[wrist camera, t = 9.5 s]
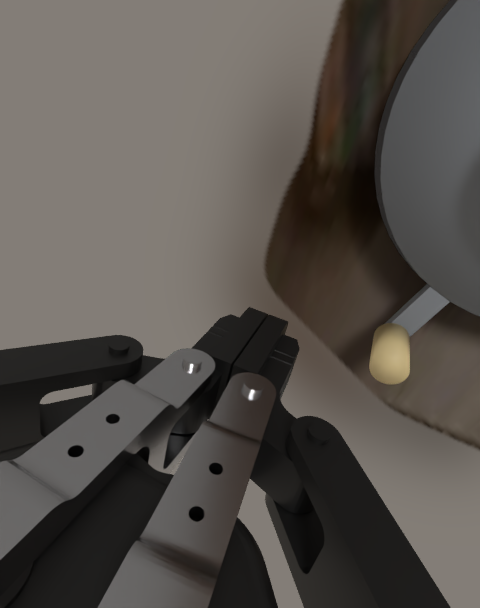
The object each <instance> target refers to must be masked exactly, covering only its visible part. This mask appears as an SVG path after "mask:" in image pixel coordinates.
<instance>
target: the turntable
mask: <svg viewBox="0 0 480 608" xmlns="http://www.w3.org/2000/svg"><path fill="white" fill-rule="evenodd" d="M381 189H382V199H383V204H384V209H385V213H386V217H387V221H388V224H389V226H390V229H391V231H392V234H393V236H394V239H395V241H396V243H397V245H398V246H399V248H400V250H401V252H402V253H403V255H404V257H405V258H406V260H407V261H408V262H409V264H410V265H411V266H412V267H413V269H414V270H415V271H416V272H417V274H418V275H419V276H420V277H421V278H422V279H423V280H424V281H425V282H426V283H427V284H426V285H425V286H424V287H423V288H422V289H421V290H420V291H419V292H418V293H417V294H415V295H414V296H413V297H412V298H411V299H410V300H409V301H408V302H407V303H406V304H405V305H404V306H403V307H402V308H401V309H400V310H398V311H397V312H396V313H395V314H394V315H393V316H392V317H391V318H390V319H389V320H388V321H387V322H386V323H385V324H383V325H381V326H379V327H378V328H377V329H376V331H375V333H374V336H373V344H372V350H371V357H370V363H369V370H370V372H371V374H372V376H373V377H374V378H375V379H376V380H378V381H380V382H382V383H385V384H398V383H400V382H402V381H404V380H405V379H406V378H407V377H408V375H409V372H410V336H411V335H412V334H414V333H415V332H416V331H417V330H418V329H419V328H420V327H422V326H423V325H424V324H425V323H426V322H427V321H428V320H430V319H431V318H432V317H433V316H434V315H435V314H437V313H438V312H439V311H440V310H441V309H442V308H443V307H445V306H446V305H447V304H448V303H449V302H452V303H453V304H455V305H457V306H459V307H461V308H463V309H465V310H466V311H468V312H470V313H472V314H475V315H477V316H480V0H458V1H457V2H456V3H455V4H454V5H453V7H452V8H451V9H450V10H449V11H448V12H447V14H446V15H445V16H444V17H443V18H442V19H441V21H440V22H439V23H438V24H437V26H436V27H435V29H434V30H433V31H432V33H431V34H430V36H429V37H428V39H427V40H426V42H425V43H424V44H423V46H422V47H421V49H420V50H419V52H418V54H417V56H416V57H415V59H414V61H413V63H412V65H411V66H410V68H409V70H408V72H407V74H406V75H405V77H404V79H403V82H402V84H401V87H400V89H399V91H398V94H397V96H396V98H395V101H394V103H393V106H392V109H391V113H390V116H389V120H388V123H387V127H386V130H385V136H384V142H383V148H382V154H381Z"/></svg>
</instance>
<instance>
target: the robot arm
mask: <svg viewBox="0 0 480 608" xmlns="http://www.w3.org/2000/svg"><path fill="white" fill-rule="evenodd" d="M287 326H288V321H285V320H282V319H280V318H277V317H274V316H272V315H268V314H266V313H263V312H261V311H258V310H256V309H253V308H250V307H249V308H248V309H247V310H246V311H245V312H244V313H243V314H242V316H241V317H240V318H239V317H236V316H234V315H228V316H225V317H222V318H220V319H219V320H218V321H217V322H216V323H215V324H214V326H213V327H211V328H210V330H209V331H208V332H207V333H206V334H205V335H204V336H203V337H202V338H201V339H200V340H199V341H198V342H197V343H196V344H195V346H193V347H192V348H191V349H188V348H187V349H180V350H177V351H175V352H173V353H172V354H171V355H170V356H168V357H167V358H166V359H160V358H155V357H149V356H143V347H142V345H141V343H140V342H138V341H137V340H136V339H134V338H131V337H128V336H122V335H113V336H105V337H97V338H89V339H82V340H74V341H66V342H59V343H51V344H45V345H36V346H29V347H21V348H13V349H6V350H0V608H278V606H277V603H276V599H275V596H274V592H273V589H272V585H271V582H270V578H269V575H268V572H267V568H266V565H265V562H264V559H263V556H262V553H261V551H260V549H259V547H258V545H257V543H256V541H255V539H254V538H253V536H252V534H251V533H250V532H249V530H248V529H247V528H246V526H245V525H244V524H243V523H242V522H241V521H240V519H238V518H237V515H238V512H239V509H240V506H241V503H242V500H243V497H244V494H245V491H246V488H247V484H248V482H249V479H251V480H252V481H253V482H255V483H256V484H257V485H258V486H259V487H260V488H261V489H262V490H263V491H265V492H266V497H265V500H266V505H267V508H268V511H269V514H270V516H271V519H272V522H273V524H274V527H275V530H276V533H277V535H278V538H279V541H280V544H281V546H282V549H283V551H284V554H285V557H286V560H287V563H288V565H289V568H290V571H291V573H292V576H293V578H294V581H295V584H296V587H297V590H298V592H299V595H300V598H301V600H302V603H303V606H304V608H450V606H449V604H448V603H447V601H446V600H445V598H444V597H443V595H442V593H441V592H440V590H439V589H438V587H437V586H436V584H435V582H434V581H433V579H432V578H431V576H430V575H429V573H428V571H427V570H426V568H425V567H424V565H423V563H422V562H421V560H420V559H419V557H418V556H417V554H416V552H415V551H414V549H413V548H412V546H411V545H410V543H409V541H408V540H407V538H406V537H405V535H404V534H403V532H402V530H401V529H400V527H399V526H398V524H397V523H396V521H395V519H394V518H393V516H392V515H391V513H390V512H389V510H388V508H387V507H386V505H385V504H384V502H383V500H382V499H381V497H380V496H379V494H378V493H377V491H376V489H375V488H374V486H373V485H372V483H371V482H370V480H369V479H368V477H367V475H366V474H365V472H364V471H363V469H362V467H361V466H360V464H359V463H358V461H357V460H356V458H355V456H354V455H353V453H352V452H351V450H350V448H349V447H348V445H347V444H346V442H345V441H344V439H343V438H342V436H341V434H340V433H339V432H338V430H337V429H336V428H335V427H334V426H333V425H331V424H330V423H328V422H327V421H325V420H323V419H320V418H318V417H313V416H304V417H300V418H298V419H296V418H295V417H293V416H292V415H291V414H290V413H289V412H288V411H287V410H286V409H285V408H284V406H283V405H282V403H281V401H280V399H281V397H282V394H283V392H284V390H285V388H286V385H287V383H288V380H289V377H290V375H291V372H292V369H293V366H294V363H295V360H296V357H297V355H298V352H299V346H298V342H297V340H296V339H294V338H291V337H289V336H286V335H285V332H286V329H287ZM89 384H92V395H88V396H84V397H79V398H74V399H69V400H64V401H60V402H55V403H50V404H39V403H40V400H41V399H42V397H44V396H45V395H46V394H48V393H50V392H53V391H58V390H63V389H69V388H74V387H79V386H84V385H89ZM207 419H209V421H207ZM184 455H185V456H184ZM183 456H184V458H183ZM182 458H183V460H182V461H181V463H180V465H179V467H178V469H177V471H176V473H175V474H174V475H171V474H170V473H171V472H172V470H173V469H174V468H175V466H176V465H177V464H178V463H179V462H180V460H181V459H182Z"/></svg>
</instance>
